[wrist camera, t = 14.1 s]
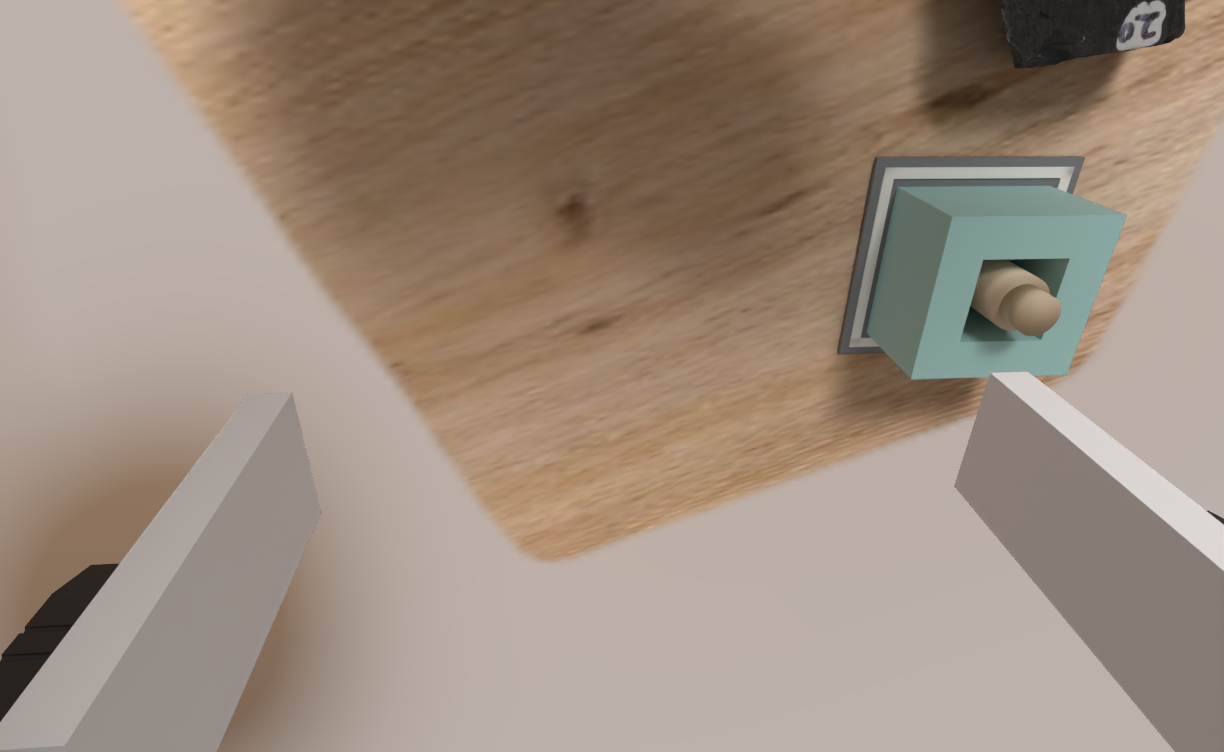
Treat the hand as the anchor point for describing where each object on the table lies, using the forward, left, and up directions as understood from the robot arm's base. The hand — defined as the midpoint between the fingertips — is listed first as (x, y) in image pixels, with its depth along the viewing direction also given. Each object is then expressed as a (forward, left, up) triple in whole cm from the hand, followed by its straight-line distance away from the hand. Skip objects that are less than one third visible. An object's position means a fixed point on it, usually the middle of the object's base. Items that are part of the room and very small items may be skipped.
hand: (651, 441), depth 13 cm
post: (+6, +22, -27) cm, 35 cm away
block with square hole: (+6, +22, -26) cm, 35 cm away
